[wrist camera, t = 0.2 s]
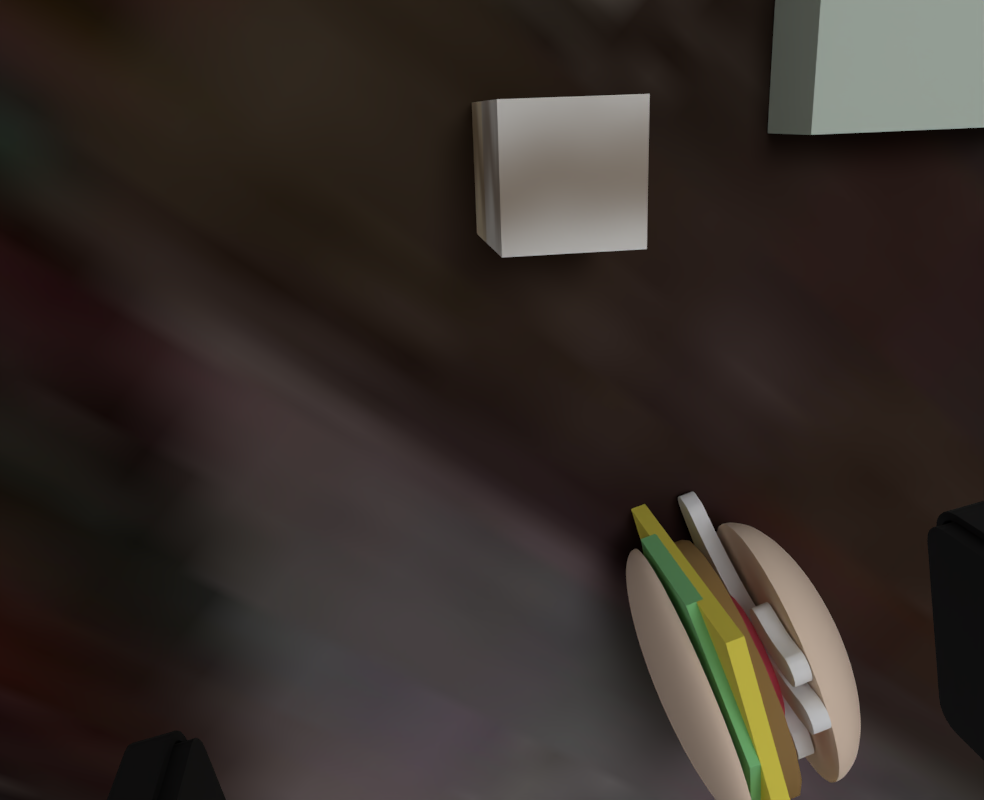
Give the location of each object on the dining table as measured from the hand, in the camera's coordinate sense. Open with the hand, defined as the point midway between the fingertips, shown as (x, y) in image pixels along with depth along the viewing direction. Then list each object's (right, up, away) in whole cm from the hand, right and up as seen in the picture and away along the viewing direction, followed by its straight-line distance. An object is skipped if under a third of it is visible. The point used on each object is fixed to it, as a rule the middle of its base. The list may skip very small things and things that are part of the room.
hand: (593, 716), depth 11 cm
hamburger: (+9, -6, +36) cm, 37 cm away
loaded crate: (+1, +14, +28) cm, 31 cm away
